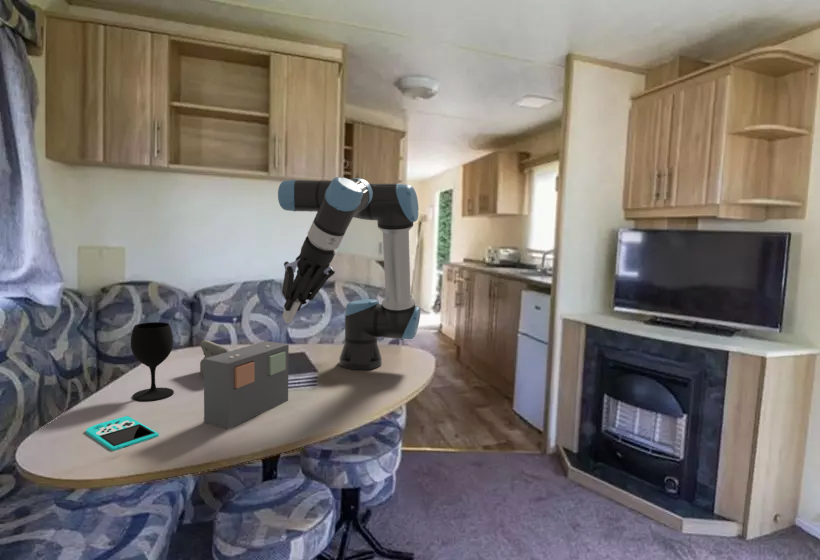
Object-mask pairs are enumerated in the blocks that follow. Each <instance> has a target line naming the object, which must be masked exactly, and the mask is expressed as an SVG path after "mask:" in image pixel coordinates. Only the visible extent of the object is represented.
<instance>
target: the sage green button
mask: <svg viewBox="0 0 820 560" xmlns="http://www.w3.org/2000/svg"><path fill="white" fill-rule="evenodd" d="M283 370H286V352H284V351H280V352H277V353H274V354H271V355H268V375H273V374H275V373H278V372H281V371H283Z"/></svg>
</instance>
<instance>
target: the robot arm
mask: <svg viewBox="0 0 820 560" xmlns="http://www.w3.org/2000/svg"><path fill="white" fill-rule="evenodd" d="M277 200H278V203H279V204H278V205H279V206H280V207H281V208H282V210H284V211H290V212H309V213H310V212H311V213H312V212H313V213H314V212H316V214H315V216H314V219H313V221H312V223H311V225H310V227H309V230H308V232H307V236H306V237H305V238H304V240H303V242H302V246H301V248H300V253H299V255H298V256H297V257H296V258H295V260H294V261H291V262H289V261H284V263H283V266H284V278H283V285H282V290H281V294H282V295H283V297H284V299H285V300H286V301H285V303H284V305H283V308H284V310H283V313H282V314H281V316H282V318H283V320H284V322H285V323H286V324H292V322H293V320H294V318H295V316H296V314H297V312H298V311H300V310H301V308H302V306H303V305H306V304H307V301H312V300H313V299H314V298H315V296H316V295H317V294H319V291H320V290H322V289H321V288H323V286H324V285H325V284H326V282H327V281H328V280H329V279H330V278H331V277H332V276H334V275H335V273H336V271H335V270H334V269H333V268H334V267H332V265H331V263H332V261H333V259H334V257H335V256H336V253H337V250H338V248H339V247H340V245H341V242H342V241H343V238H344V237H345V234H346V231H347V229H348V227H349V226H350V224H351V222H352V220H353V218H355V219H360V220H366V221H377V228H378V229H379V230H380V231H381V232H382V244H383V247H382V248H383V264H384V265H383V267H384V269H383V270H384V288H385V289H384V291H385V297H384V299H383V300H381V304H380V302H379V300H378V299H375V298H370V299H358V300H354V301H350V302H348V303H347V304H346V305H345V314H344V344H343V347H342V350H341V352H340V356H339V366H341V367H342V368H345V369H350V370H358V371H359V370H360V371H361V370H363V371H365V370H371V369H376V368H379V367H381V366H382V363H383V362H382V359H383V358H382V355H381V351H380V348H379V345H378V338H384V339H396V340H398V339H399V340H401V341H402V340H413V339H414V338H415V337H416V335H417V332H418V330H419V329H418V328H419V324H420V318H421V307H419V306H418V305H417V306H416V301H415V299H414V298H413V297H412V296H411V271H410V270H411V266H410V264H411V263H410V262H411V261H410V230H411V229H412V228H413V227H414V222H417V221H418V219H419V209H420V208H419V202H418V196H417V193H416V190H415V188H414V187H413V186H412V185H410V184H404V183H369V182H368V181H367V180H366V179H364V178H360V177H355V178H350V179H349V178H347V177H343V176H342V177H340V176H337V177H336V176H335V177H334V178H333V179H331V180H312V179H311V180H309V179H308V180H307V179H306V180H305V179H303V180H302V179H289V180H287V179H286V180H285V179H284V180H283V181H281V182H280V184H279V185H278V189H277ZM296 269H297V270H296ZM295 273H296V276H295Z"/></svg>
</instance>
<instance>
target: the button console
mask: <svg viewBox="0 0 820 560" xmlns="http://www.w3.org/2000/svg"><path fill="white" fill-rule="evenodd" d="M289 347H290V346H289V344H286V343H282V342H274V341H269V340H264V341H261V342H257V343H254V344H251V345H247V346H243V347H240V348H237V349H234V350H229V352H226V353H222V354H219V355H215V356H212V357H208V358H205V359H204V376H203V420H204V421H203V423H205V424H209V425H213V426H217V427H220V428H224V429H228V430H229V429H232V428H234V427H236V426H238V425H240V424H243V423H245V422H247V421H249V420H250V419H252V417H253V418H254V417H256V415H257V416H258V414H259V415H260V413H261V414H262V412H263V413H265V412H267V411H269V410H271V409H274V408H275V407H277V406H279V405H281V404H284V403H285V402H287V401H289ZM280 351H284V352H286V370H283V371H281V372H278V373H275V374H273V375H268V355H271V354H274V353H277V352H280ZM250 361H251V362H255V382H252V383H250V384H247V385H245V386H242V387H239V388H234V367H235V366H238V365H241V364H244V363H247V362H250ZM264 411H265V412H264Z"/></svg>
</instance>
